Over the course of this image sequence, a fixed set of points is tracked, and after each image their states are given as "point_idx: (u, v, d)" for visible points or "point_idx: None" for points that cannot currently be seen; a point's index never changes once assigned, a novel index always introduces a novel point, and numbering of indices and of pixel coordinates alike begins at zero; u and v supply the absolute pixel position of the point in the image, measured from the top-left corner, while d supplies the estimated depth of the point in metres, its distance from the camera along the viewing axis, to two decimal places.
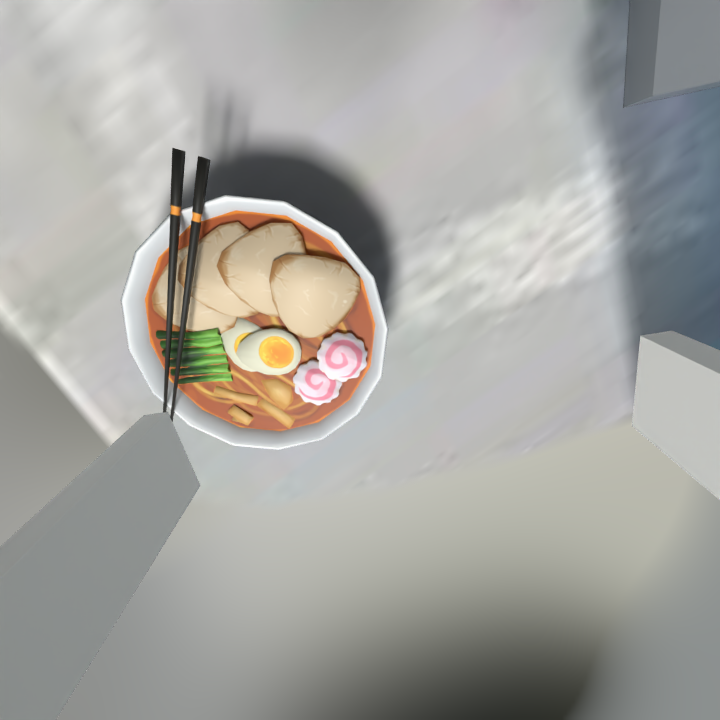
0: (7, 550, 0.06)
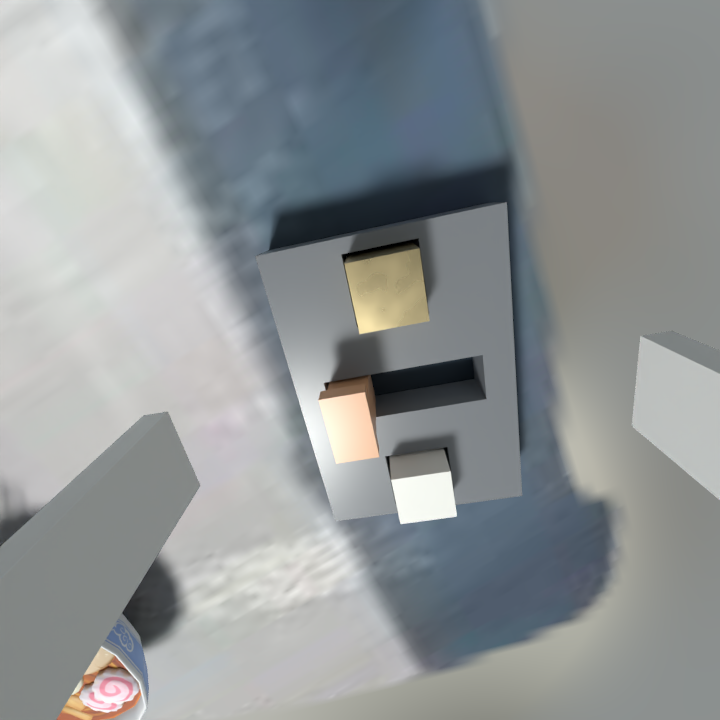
0: (7, 550, 0.06)
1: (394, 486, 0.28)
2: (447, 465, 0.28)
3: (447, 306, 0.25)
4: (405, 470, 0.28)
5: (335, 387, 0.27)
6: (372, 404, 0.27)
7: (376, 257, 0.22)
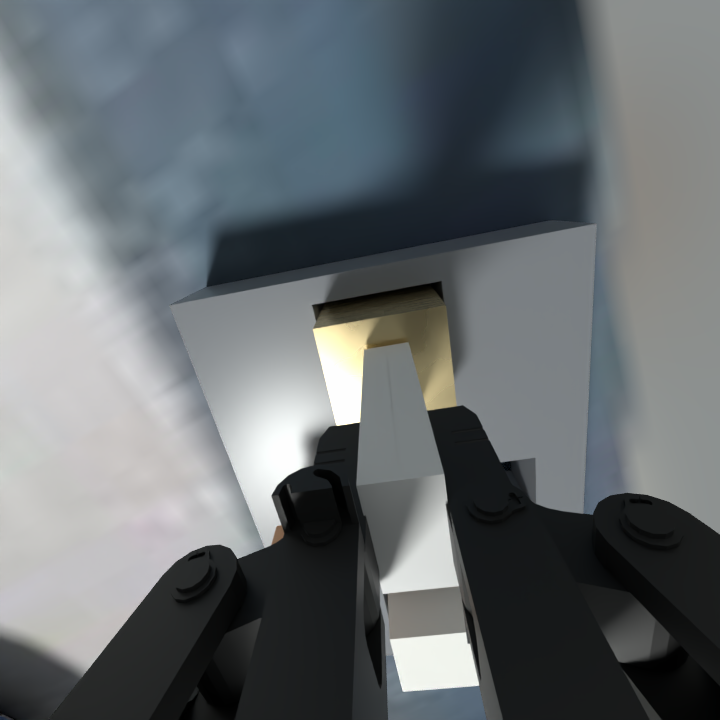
0: (371, 423, 0.08)
1: (394, 647, 0.18)
2: None
3: (484, 387, 0.16)
4: (411, 620, 0.19)
5: None
6: None
7: (369, 319, 0.12)
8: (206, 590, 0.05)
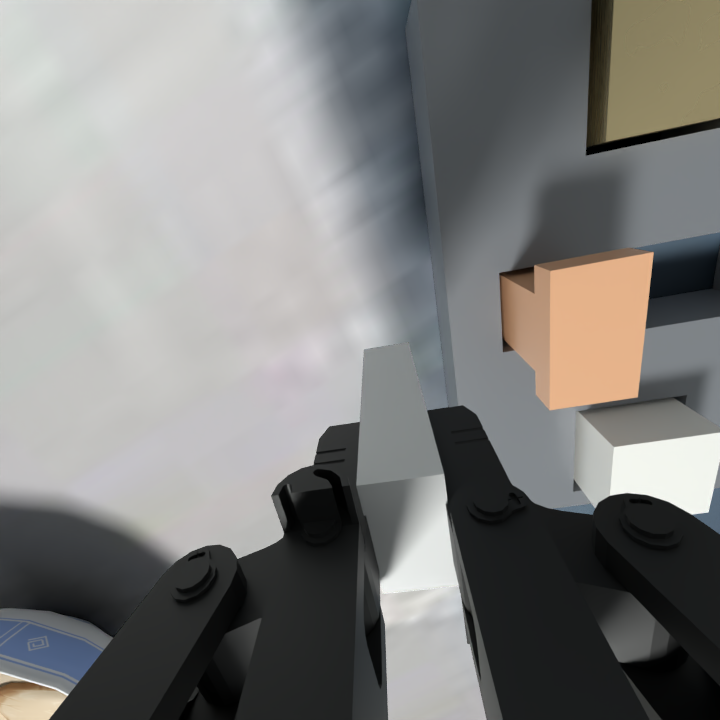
0: (371, 423, 0.08)
1: (616, 459, 0.16)
2: (709, 423, 0.16)
3: None
4: (630, 432, 0.16)
5: (524, 278, 0.15)
6: None
7: None
8: (206, 590, 0.05)
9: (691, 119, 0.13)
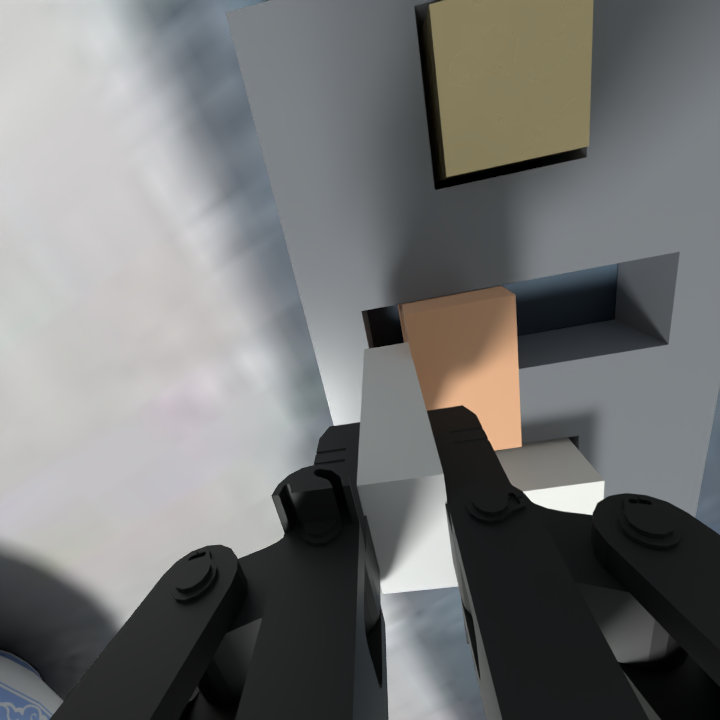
0: (371, 423, 0.08)
1: None
2: (592, 469, 0.15)
3: (627, 139, 0.12)
4: (510, 478, 0.15)
5: None
6: None
7: None
8: (206, 590, 0.05)
9: (534, 153, 0.12)
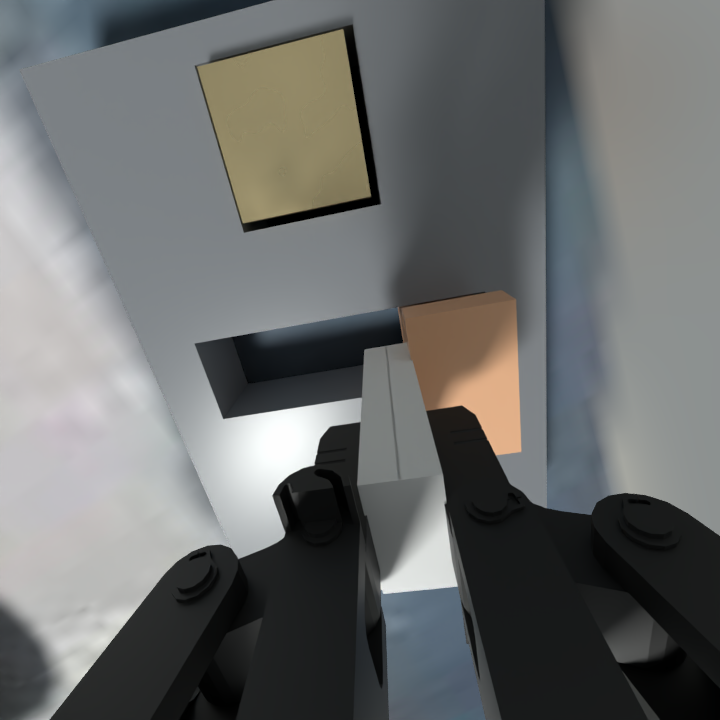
0: (371, 423, 0.08)
1: None
2: None
3: (416, 188, 0.13)
4: None
5: None
6: None
7: (259, 53, 0.11)
8: (207, 590, 0.05)
9: (321, 202, 0.12)
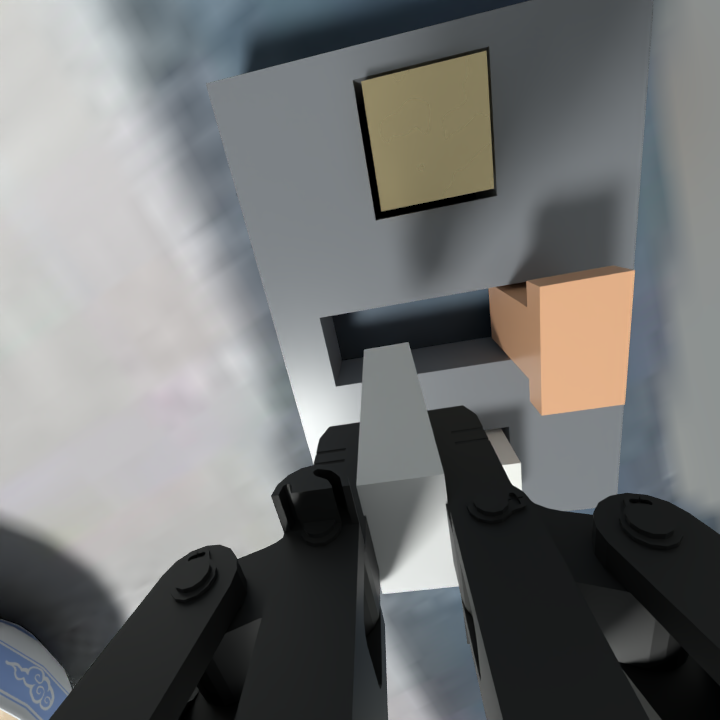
0: (371, 423, 0.08)
1: None
2: (513, 454, 0.17)
3: (529, 182, 0.15)
4: None
5: (519, 292, 0.16)
6: None
7: (414, 70, 0.13)
8: (206, 590, 0.05)
9: (451, 193, 0.15)
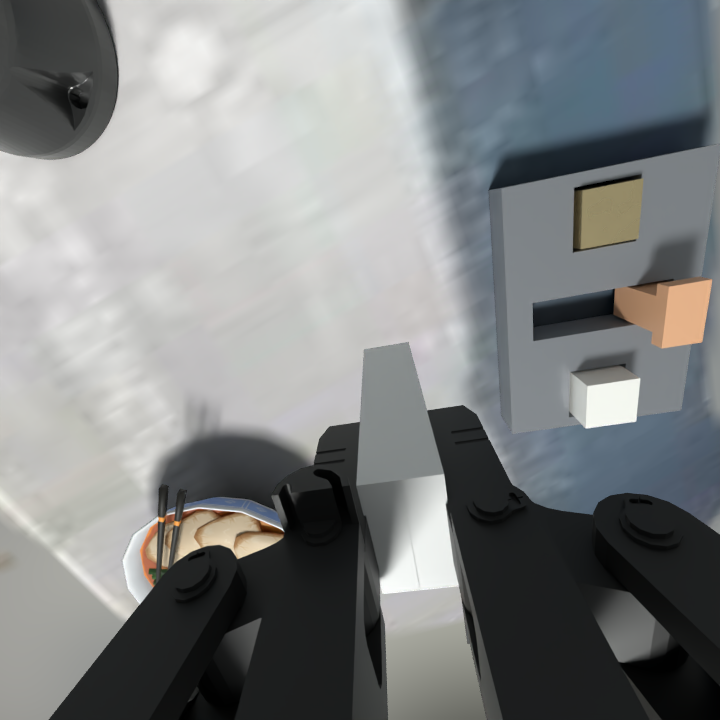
0: (371, 423, 0.08)
1: (588, 392, 0.33)
2: (634, 375, 0.33)
3: (653, 234, 0.30)
4: (596, 380, 0.33)
5: (643, 289, 0.31)
6: None
7: (608, 185, 0.28)
8: (206, 590, 0.05)
9: (616, 240, 0.30)
